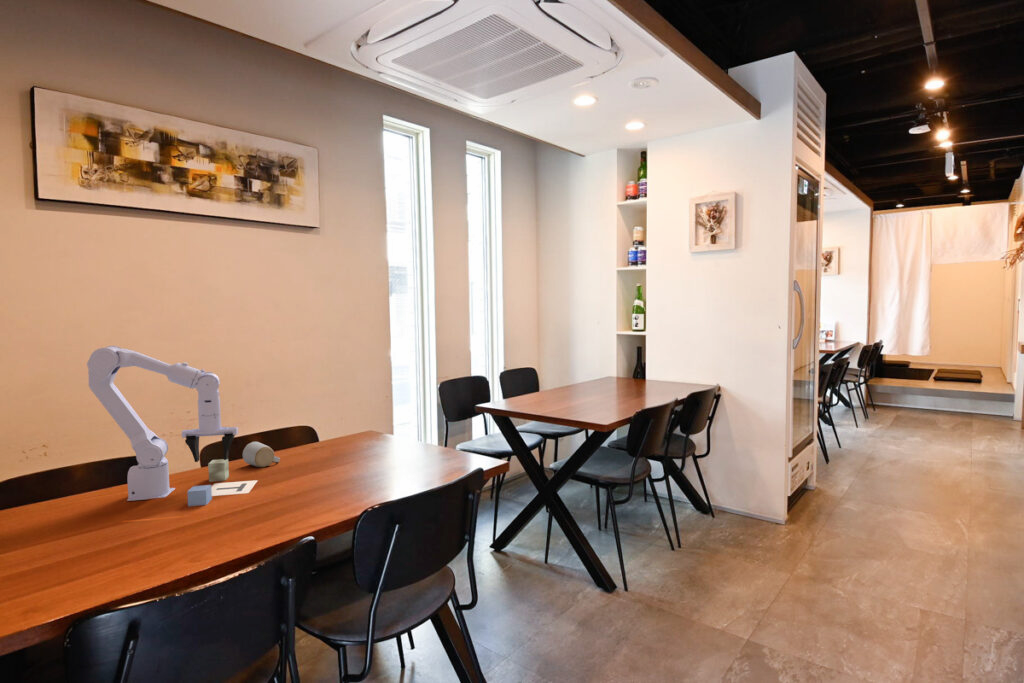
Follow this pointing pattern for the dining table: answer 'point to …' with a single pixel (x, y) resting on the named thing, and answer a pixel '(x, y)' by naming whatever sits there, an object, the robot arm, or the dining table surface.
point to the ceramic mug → (259, 455)
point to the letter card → (232, 488)
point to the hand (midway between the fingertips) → (211, 460)
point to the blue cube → (199, 495)
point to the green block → (218, 470)
